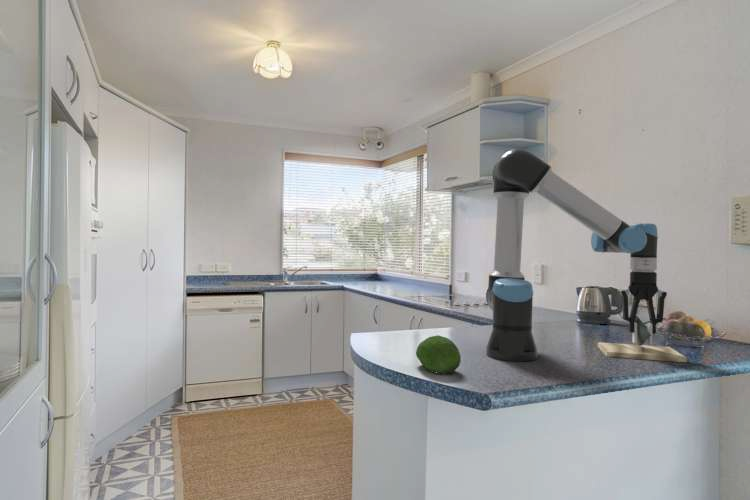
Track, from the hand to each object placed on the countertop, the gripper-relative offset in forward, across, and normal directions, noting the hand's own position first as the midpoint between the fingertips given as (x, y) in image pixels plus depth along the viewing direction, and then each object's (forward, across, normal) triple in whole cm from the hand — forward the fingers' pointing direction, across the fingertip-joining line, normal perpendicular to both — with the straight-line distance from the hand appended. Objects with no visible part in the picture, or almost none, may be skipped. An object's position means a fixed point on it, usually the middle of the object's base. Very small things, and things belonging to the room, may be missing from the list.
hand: (642, 343), depth 153 cm
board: (+4, -1, 0) cm, 4 cm away
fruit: (+4, -60, -45) cm, 76 cm away
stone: (+2, 0, 0) cm, 2 cm away
